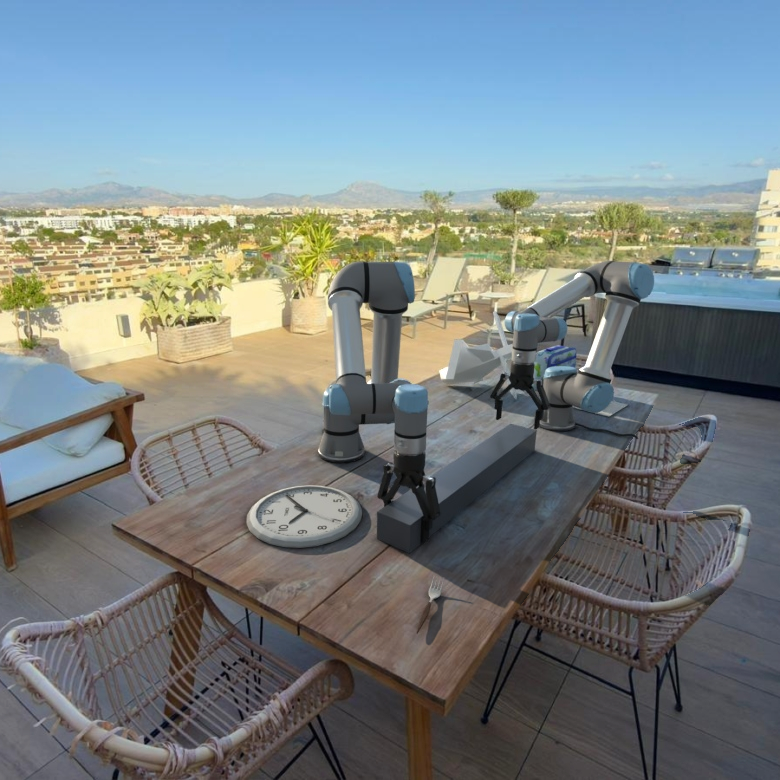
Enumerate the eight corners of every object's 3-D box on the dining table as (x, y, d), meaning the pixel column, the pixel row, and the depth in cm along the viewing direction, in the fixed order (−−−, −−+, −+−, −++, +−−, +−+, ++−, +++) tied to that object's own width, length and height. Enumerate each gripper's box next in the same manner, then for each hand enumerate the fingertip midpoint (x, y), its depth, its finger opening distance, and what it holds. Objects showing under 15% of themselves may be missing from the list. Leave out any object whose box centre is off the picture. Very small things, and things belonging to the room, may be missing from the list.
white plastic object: (461, 429, 252) (437, 405, 227) (444, 352, 274) (420, 323, 250) (535, 404, 240) (518, 377, 215) (510, 326, 262) (492, 293, 237)
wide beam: (508, 443, 186) (510, 423, 184) (534, 450, 181) (536, 430, 178) (376, 538, 128) (377, 511, 126) (409, 553, 122) (410, 525, 120)
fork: (410, 633, 98) (410, 625, 97) (432, 582, 112) (433, 574, 112) (423, 637, 97) (423, 628, 96) (444, 585, 111) (445, 577, 111)
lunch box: (548, 398, 236) (553, 353, 229) (527, 393, 243) (531, 349, 237) (575, 387, 253) (581, 344, 247) (555, 382, 260) (560, 341, 254)
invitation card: (608, 416, 214) (573, 407, 224) (608, 416, 214) (573, 408, 224) (628, 404, 229) (594, 396, 238) (628, 405, 229) (594, 397, 238)
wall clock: (364, 539, 124) (235, 543, 122) (364, 545, 125) (236, 550, 122) (360, 481, 153) (256, 483, 150) (360, 486, 153) (256, 488, 151)
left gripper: (362, 443, 126) (362, 524, 133) (442, 468, 114) (437, 557, 120) (381, 433, 132) (380, 511, 139) (459, 457, 119) (453, 542, 126)
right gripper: (482, 358, 173) (478, 418, 180) (556, 371, 159) (549, 435, 166) (493, 354, 179) (488, 412, 185) (565, 366, 165) (557, 428, 171)
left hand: (407, 532), depth 130 cm, fingers closed on wide beam, 10 cm apart
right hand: (517, 423), depth 175 cm, fingers open, 13 cm apart
